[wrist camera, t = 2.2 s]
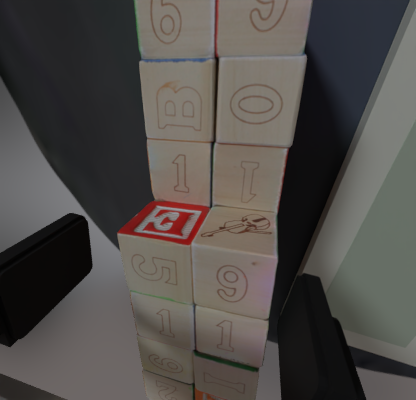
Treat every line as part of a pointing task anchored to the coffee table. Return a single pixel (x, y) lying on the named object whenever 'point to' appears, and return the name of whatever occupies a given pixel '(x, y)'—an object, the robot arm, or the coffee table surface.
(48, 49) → the coffee table surface
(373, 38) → the coffee table surface
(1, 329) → the robot arm
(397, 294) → the baseplate
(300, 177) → the coffee table surface
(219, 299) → the stack of blocks
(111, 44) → the coffee table surface
